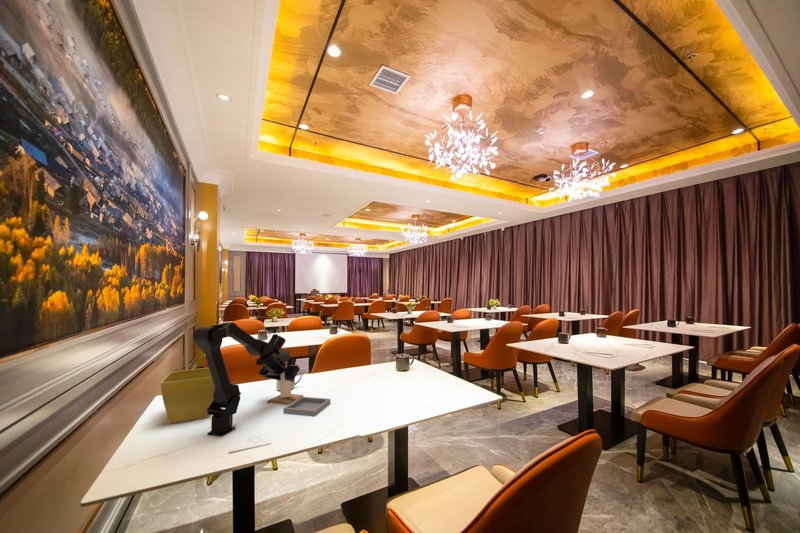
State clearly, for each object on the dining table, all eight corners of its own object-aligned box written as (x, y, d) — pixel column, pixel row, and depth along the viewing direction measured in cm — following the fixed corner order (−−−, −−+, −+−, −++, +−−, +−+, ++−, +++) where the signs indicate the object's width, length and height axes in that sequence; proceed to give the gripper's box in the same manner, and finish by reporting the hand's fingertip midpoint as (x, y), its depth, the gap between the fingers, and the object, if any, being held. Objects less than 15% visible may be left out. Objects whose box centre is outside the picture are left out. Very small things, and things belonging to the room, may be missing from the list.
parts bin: (314, 417, 122) (314, 411, 122) (283, 414, 125) (283, 408, 126) (330, 404, 136) (330, 398, 136) (302, 402, 139) (302, 396, 139)
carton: (290, 396, 141) (291, 371, 142) (280, 397, 139) (280, 372, 140) (290, 393, 145) (291, 369, 146) (280, 394, 144) (281, 369, 144)
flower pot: (168, 411, 130) (170, 371, 132) (220, 403, 139) (221, 365, 140) (157, 429, 113) (159, 383, 115) (217, 419, 122) (218, 375, 123)
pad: (287, 405, 135) (287, 403, 135) (267, 402, 139) (267, 400, 139) (303, 397, 145) (303, 395, 145) (284, 394, 149) (284, 392, 149)
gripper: (297, 347, 137) (312, 366, 146) (264, 345, 143) (280, 364, 153) (284, 369, 129) (301, 388, 138) (250, 366, 136) (268, 384, 145)
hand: (287, 380), depth 144 cm, fingers closed on carton, 6 cm apart
